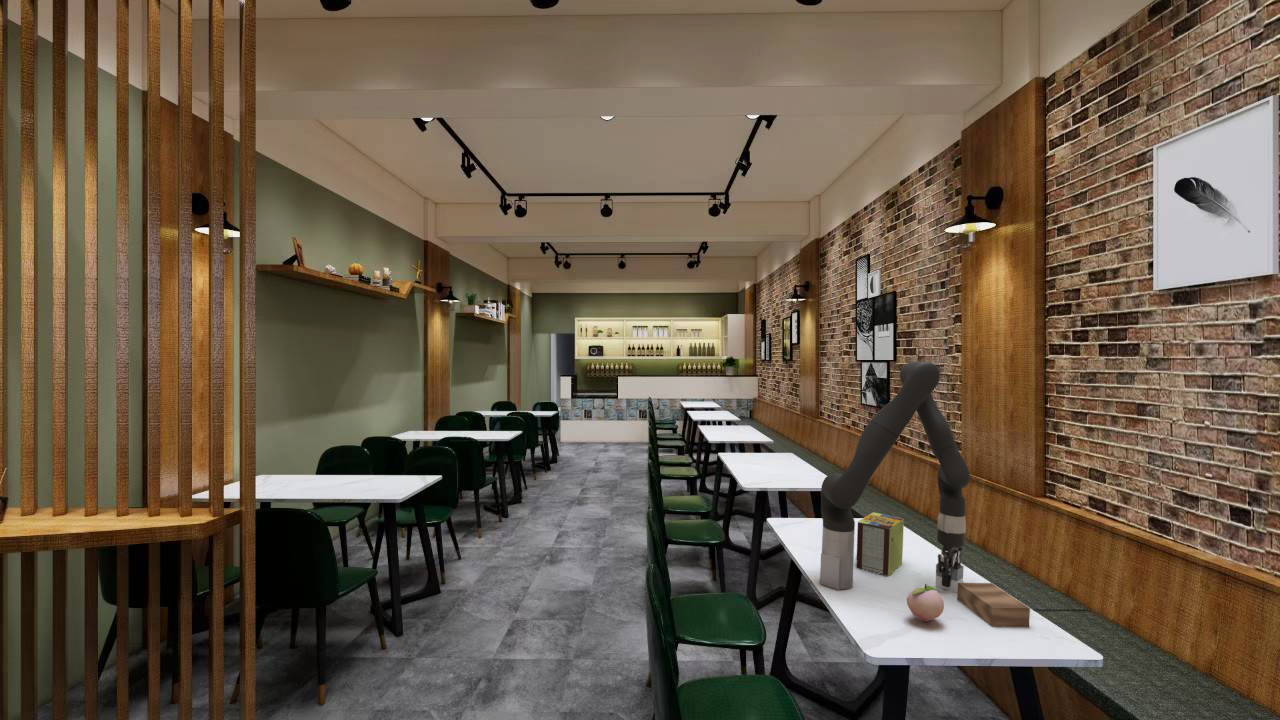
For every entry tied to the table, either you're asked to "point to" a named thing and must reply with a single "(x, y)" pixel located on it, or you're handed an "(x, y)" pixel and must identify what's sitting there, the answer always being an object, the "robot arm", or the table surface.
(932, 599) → the decorative fruit
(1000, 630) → the table surface
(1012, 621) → the walnut stand
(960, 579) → the housing
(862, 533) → the protein box
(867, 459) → the robot arm
